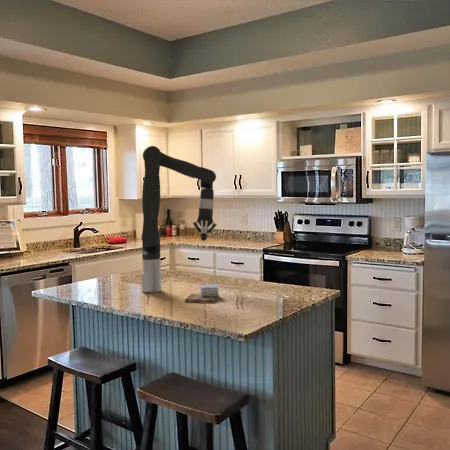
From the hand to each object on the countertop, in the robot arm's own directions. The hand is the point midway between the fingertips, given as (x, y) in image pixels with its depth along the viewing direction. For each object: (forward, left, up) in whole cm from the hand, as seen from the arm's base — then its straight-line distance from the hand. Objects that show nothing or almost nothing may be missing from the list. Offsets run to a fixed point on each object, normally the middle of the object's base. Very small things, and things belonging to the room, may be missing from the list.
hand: (203, 240), depth 261 cm
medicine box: (+6, -17, -22) cm, 28 cm away
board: (+5, -26, -26) cm, 37 cm away
